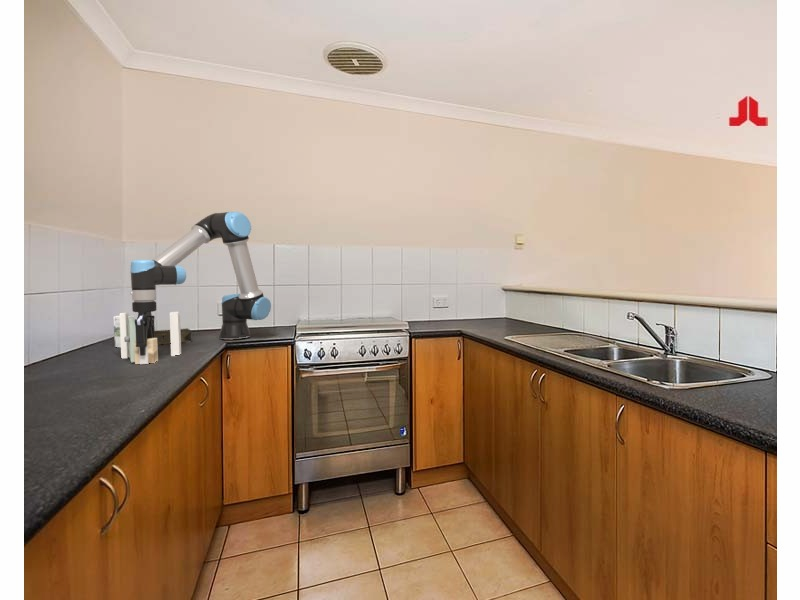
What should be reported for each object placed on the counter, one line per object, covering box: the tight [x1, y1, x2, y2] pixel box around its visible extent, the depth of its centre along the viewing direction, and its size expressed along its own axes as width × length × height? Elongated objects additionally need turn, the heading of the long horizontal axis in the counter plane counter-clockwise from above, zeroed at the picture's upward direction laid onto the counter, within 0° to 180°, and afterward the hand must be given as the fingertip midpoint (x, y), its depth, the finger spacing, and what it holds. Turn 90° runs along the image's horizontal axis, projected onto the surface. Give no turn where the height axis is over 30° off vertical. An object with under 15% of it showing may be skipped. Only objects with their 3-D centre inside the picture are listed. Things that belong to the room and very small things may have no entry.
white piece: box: [118, 311, 182, 359], centre depth 154 cm, size 20×3×18 cm, turn 107°
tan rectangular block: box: [134, 338, 159, 365], centre depth 143 cm, size 6×5×9 cm
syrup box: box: [112, 314, 135, 349], centre depth 172 cm, size 6×6×14 cm
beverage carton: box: [155, 327, 192, 346], centre depth 183 cm, size 8×19×7 cm, turn 127°
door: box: [124, 316, 136, 363], centre depth 146 cm, size 14×4×16 cm, turn 38°
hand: (146, 361), depth 143 cm, fingers closed on tan rectangular block, 5 cm apart
